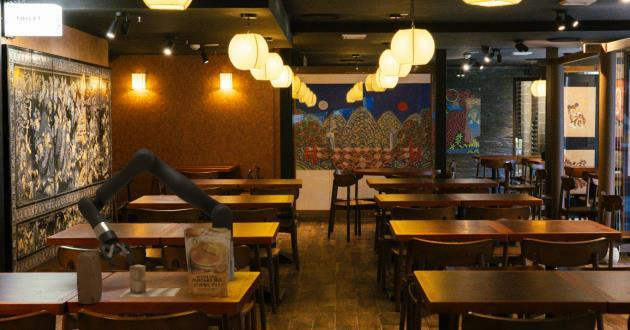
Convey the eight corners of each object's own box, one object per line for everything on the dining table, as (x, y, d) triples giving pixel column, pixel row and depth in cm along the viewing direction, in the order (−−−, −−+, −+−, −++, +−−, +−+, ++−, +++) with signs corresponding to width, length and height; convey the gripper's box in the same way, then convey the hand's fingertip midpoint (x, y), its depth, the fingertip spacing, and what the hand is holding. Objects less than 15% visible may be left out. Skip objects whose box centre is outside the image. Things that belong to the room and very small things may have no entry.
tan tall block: (139, 290, 314) (138, 264, 313) (146, 292, 311) (145, 265, 310) (130, 293, 310) (129, 266, 309) (137, 294, 307) (136, 267, 306)
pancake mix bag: (187, 294, 313) (185, 226, 311) (233, 294, 312) (231, 226, 310) (183, 298, 307) (181, 229, 305) (230, 298, 305) (228, 229, 303)
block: (93, 305, 297) (92, 254, 296) (75, 305, 298) (73, 254, 297) (105, 298, 308) (103, 249, 306) (87, 298, 309) (85, 249, 307)
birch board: (180, 291, 318) (180, 288, 318) (174, 299, 304) (173, 296, 304) (128, 292, 318) (128, 288, 318) (119, 300, 304) (119, 296, 304)
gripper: (94, 231, 318) (112, 261, 312) (123, 227, 329) (140, 255, 322) (88, 243, 322) (105, 273, 315) (116, 238, 333) (133, 266, 326)
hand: (123, 264), depth 319 cm, fingers open, 8 cm apart
